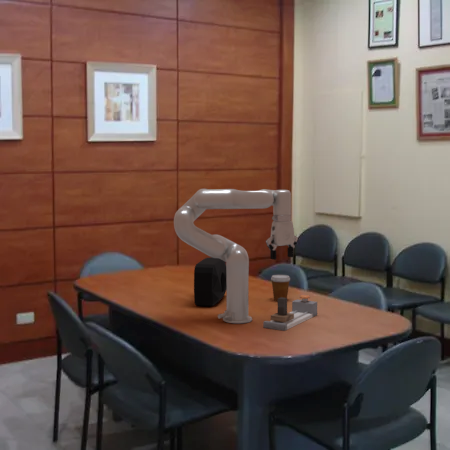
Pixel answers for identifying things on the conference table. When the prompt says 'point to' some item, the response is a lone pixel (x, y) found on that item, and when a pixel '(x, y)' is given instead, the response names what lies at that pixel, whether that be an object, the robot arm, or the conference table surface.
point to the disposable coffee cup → (280, 286)
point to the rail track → (295, 315)
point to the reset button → (304, 297)
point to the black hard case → (209, 281)
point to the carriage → (282, 311)
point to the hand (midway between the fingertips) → (282, 258)
